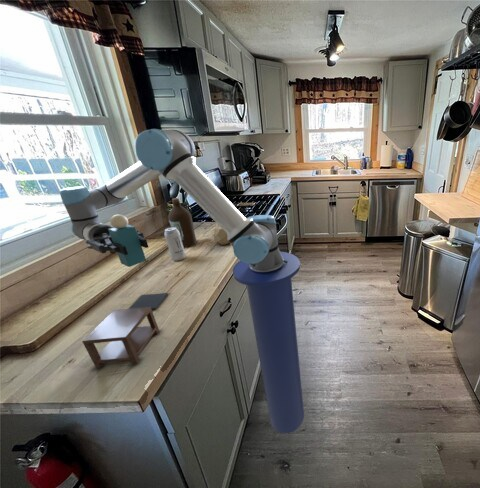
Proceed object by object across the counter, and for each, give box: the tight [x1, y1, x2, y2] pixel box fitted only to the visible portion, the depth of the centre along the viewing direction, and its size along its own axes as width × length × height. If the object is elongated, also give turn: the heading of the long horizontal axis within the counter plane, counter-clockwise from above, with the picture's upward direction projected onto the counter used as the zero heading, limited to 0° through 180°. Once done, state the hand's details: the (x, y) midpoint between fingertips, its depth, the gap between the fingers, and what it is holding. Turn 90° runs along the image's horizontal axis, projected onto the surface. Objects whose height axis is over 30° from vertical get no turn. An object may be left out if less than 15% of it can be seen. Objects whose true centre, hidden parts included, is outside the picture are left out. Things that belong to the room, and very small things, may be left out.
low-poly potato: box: [212, 226, 231, 246], centre depth 139 cm, size 15×11×12 cm
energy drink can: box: [163, 226, 186, 262], centre depth 121 cm, size 6×6×15 cm
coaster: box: [128, 292, 169, 311], centre depth 91 cm, size 9×9×1 cm
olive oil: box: [167, 197, 197, 248], centre depth 135 cm, size 11×11×25 cm
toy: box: [108, 214, 147, 268], centre depth 82 cm, size 5×5×16 cm
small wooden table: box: [82, 307, 160, 369], centre depth 70 cm, size 10×12×9 cm
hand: (135, 247), depth 80 cm, fingers closed on toy, 5 cm apart
